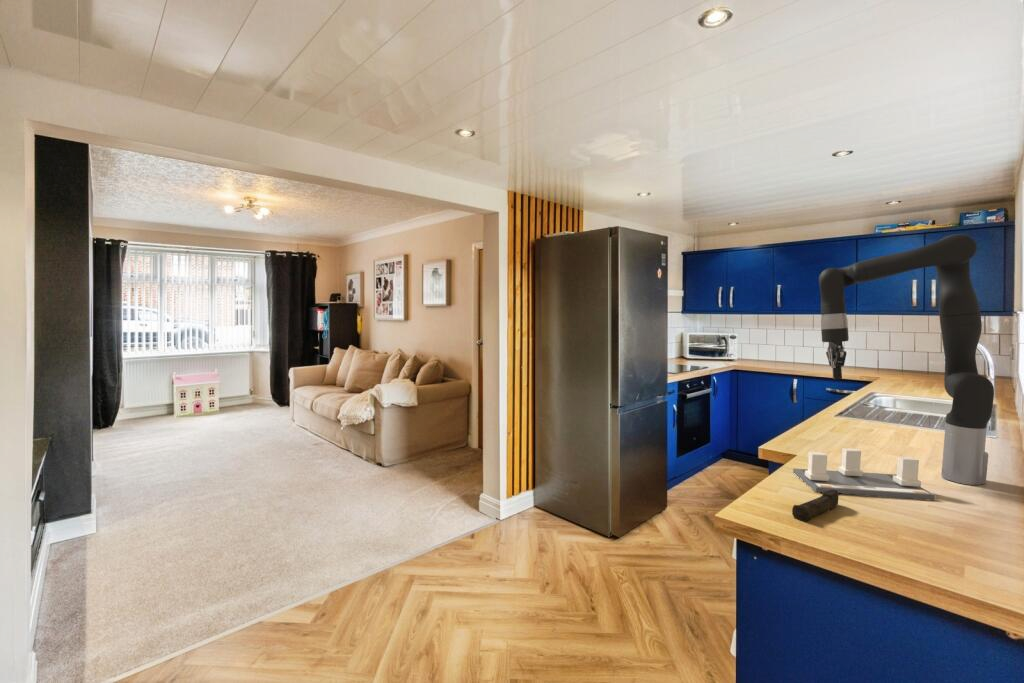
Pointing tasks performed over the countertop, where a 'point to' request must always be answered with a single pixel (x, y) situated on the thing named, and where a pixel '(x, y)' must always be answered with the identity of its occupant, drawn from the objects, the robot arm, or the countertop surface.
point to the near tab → (907, 472)
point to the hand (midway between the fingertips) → (837, 379)
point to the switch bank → (865, 485)
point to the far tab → (817, 466)
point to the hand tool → (816, 506)
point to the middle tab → (850, 462)
